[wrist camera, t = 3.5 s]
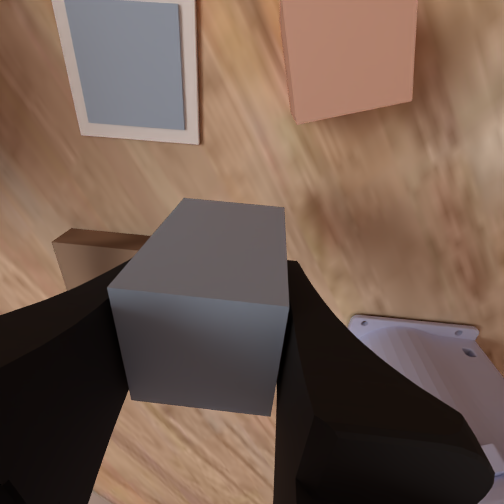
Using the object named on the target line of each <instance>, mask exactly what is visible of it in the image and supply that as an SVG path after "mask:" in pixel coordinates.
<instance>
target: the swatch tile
mask: <svg viewBox="0 0 504 504" xmlns="http://www.w3.org/2000/svg"><path fill="white" fill-rule="evenodd" d="M52 5H53V10H54V14H55V19H56V23H57V28H58V32H59V37H60V42H61V46H62V51H63V55H64V60H65V64H66V69H67V74H68V78H69V83H70V87H71V92H72V96H73V101H74V106H75V110H76V115H77V119H78V124H79V128H80V133H81V135H85V136H97V137H110V138H122V139H134V140H147V141H159V142H172V143H184V144H197V145H199V144H200V132H199V94H198V57H197V19H196V0H52Z"/></svg>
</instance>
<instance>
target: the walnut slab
mask: <svg viewBox="0 0 504 504" xmlns="http://www.w3.org/2000/svg"><path fill="white" fill-rule="evenodd" d="M150 237H151V236H144V235H134V234H124V233H114V232H103V231H93V230H83V229H73V228H71V229H70V230H68V231H67V232H65V233H64V234H62V235H61V236H60V237H58V238H57V239H55V240H54V241H52V245H53V248H54V251H55V254H56V257H57V261H58V264H59V267H60V270H61V273H62V276H63V279H64V283H65V286H66V289H67V291H68V290H70V289H73V288H75V287H77V286H79V285H81V284H83V283H85V282H87V281H89V280H91V279H93V278H95V277H97V276H99V275H101V274H103V273H105V272H107V271H109V270H111V269H113V268H115V267H116V266H118V265H120V264H122V263H124V262H126V261H127V260H129V259H131V258H133V257H134V255H135V254H136V253H137V252H138V251H139V250H140V248H141V247H142V246H143V245H144V244H145V243H146V241H147V240H148V239H149V238H150Z"/></svg>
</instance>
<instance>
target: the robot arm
mask: <svg viewBox="0 0 504 504" xmlns="http://www.w3.org/2000/svg"><path fill="white" fill-rule="evenodd" d="M131 259H132V258H131ZM131 259H129V260H127V261H126V262H124V263H122V264H120V265H118V266H116V267H115V268H113V269H111V270H109V271H107V272H105V273H103V274H101V275H99V276H97V277H95V278H93V279H91V280H89V281H87V282H85V283H83V284H81V285H79V286H77V287H75V288H73V289H70V290H68V291H66V292H63V293H61V294H59V295H56V296H54V297H51V298H49V299H46V300H44V301H41V302H38V303H35V304H32V305H29V306H26V307H23V308H20V309H18V310H15V311H12V312H9V313H6V314H3V315H0V504H88V502H89V499H90V496H91V493H92V490H93V487H94V484H95V480H96V477H97V474H98V471H99V469H100V466H101V463H102V460H103V457H104V454H105V451H106V448H107V446H108V443H109V440H110V437H111V434H112V432H113V429H114V426H115V424H116V421H117V418H118V416H119V413H120V410H121V408H122V405H123V403H124V400H125V398H126V395H127V393H128V390H129V386H128V382H127V377H126V373H125V368H124V364H123V359H122V354H121V350H120V345H119V341H118V336H117V331H116V327H115V322H114V318H113V313H112V308H111V304H110V299H109V295H108V290H107V287H108V286H109V285H110V283H111V282H112V281H113V280H114V279H115V278H116V276H117V275H118V274H119V273H120V272H121V271H122V269H123V268H124V267H125V266H126V265H127V264H128V262H129V261H130V260H131ZM287 271H288V290H289V312H288V317H287V323H286V329H285V335H284V341H283V346H282V352H281V358H280V364H279V370H278V376H277V381H276V383H277V409H276V443H275V471H274V496H273V504H504V378H503V376H502V375H501V374H500V372H499V371H498V370H497V368H496V367H495V366H494V365H493V363H492V362H491V361H490V359H489V358H488V357H487V355H486V354H485V353H484V351H483V350H482V349H481V348H480V346H479V345H478V344H477V342H476V341H475V340H476V338H477V336H478V335H479V331H478V329H477V328H476V327H474V326H466V325H456V324H446V323H436V322H426V321H416V320H406V319H396V318H386V317H376V316H366V315H354V316H352V317H351V319H350V322H349V325H348V328H347V327H346V326H345V325H344V324H343V323H342V322H341V321H340V320H339V319H338V318H337V317H336V316H335V314H334V313H333V312H332V311H331V310H330V308H329V307H328V306H327V305H326V303H325V302H324V301H323V300H322V298H321V297H320V295H319V294H318V293H317V291H316V290H315V288H314V287H313V285H312V284H311V282H310V281H309V279H308V278H307V276H306V275H305V273H304V271H303V270H302V268H301V266H300V264H299V263H298V262H297V261H291V260H287ZM363 321H366V322H363Z"/></svg>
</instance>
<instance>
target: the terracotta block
mask: <svg viewBox="0 0 504 504" xmlns="http://www.w3.org/2000/svg"><path fill="white" fill-rule="evenodd" d="M417 5H418V0H280V29H281V37H282V45H283V53H284V61H285V69H286V77H287V86H288V94H289V102H290V110H291V113H292V116H293V118H294V120H295V122H296V124H297V125H298V124H303V123H308V122H313V121H318V120H322V119H327V118H332V117H337V116H342V115H347V114H352V113H356V112H361V111H366V110H371V109H376V108H381V107H386V106H391V105H395V104H400V103H405V102H410V101H412V92H413V75H414V58H415V40H416V23H417Z"/></svg>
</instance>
